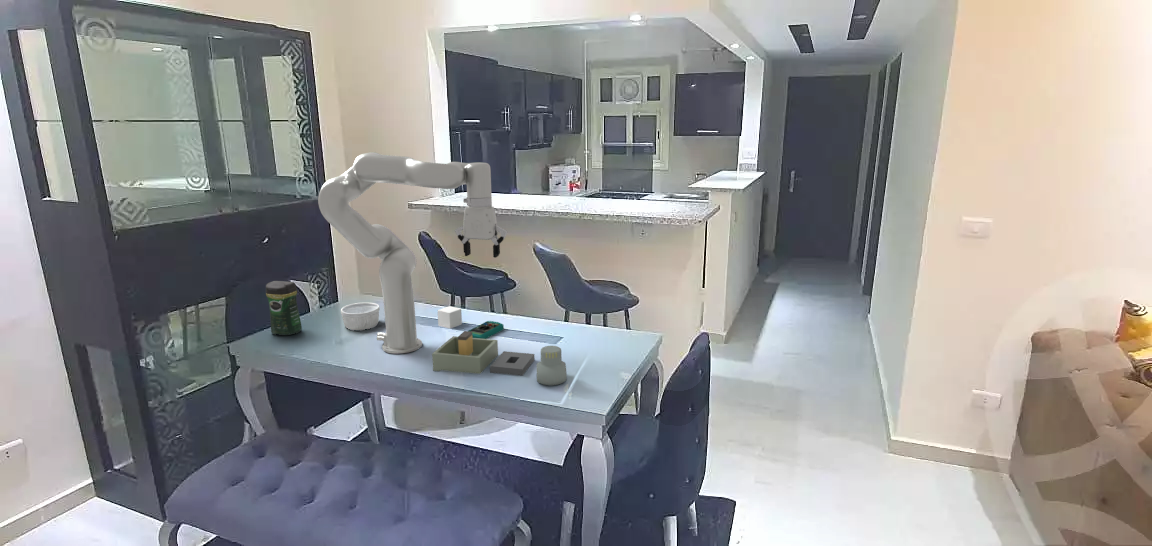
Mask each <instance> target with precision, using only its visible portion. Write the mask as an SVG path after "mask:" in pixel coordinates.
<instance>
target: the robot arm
mask: <svg viewBox="0 0 1152 546" xmlns="http://www.w3.org/2000/svg"><path fill="white" fill-rule="evenodd" d="M491 172H492V171H491V166H490V164H489V163H487V162H479V161H478V162H460V161H450V162H448V163H442V162H441V163H438V162H427V161H421V160H418V159H415V158H413V157H410V156H401V155H390V154H389V155H387V154H382V153H381V154H380V153H378V152H376V151H375V152H373V151H372V152H370V151H369V152H366V153H361V154H359V155H358V156H357V157H356V158H355V160H354V162H353V164H352V166H351V167H350V168H348V169H347V170H346V171H345V172H344V173H342V174H340V175H338V176H335V177H332V178H330V179H328V180H327V181H325V182H324V183H323V185H322V186H321V188H320V190H319V194H318V201H317V202H318V208H319V210H320V213H321V215H322V216H323V218H324V219H325V220H326V221H327V223H329V224H330V226H331V227H333V229H335V230H336V231H337V232H338V233H339V234H340V235H341V236H342V238H344V239H345V240H346V241H347V242H348V243H350V244H351V246H353V248H354V249H355V250H356V251H358V253H359V254H361V255H362V256H363V257H364V258H367V259H375V258H378V259H380V260H381V263H380V265H379V269H378V271H379V272H378V273H379V281H380V286H381V291H382V292H381V293H382V300H383V301H382V302H383V308H384V309H383V311H384V321H385V332H377V334H376V341H382V342H383V344H382V350H383V351H384V352H385V353H388V354H398V355H399V354H407V353H412V352H415V351H418V350H419V349H420V348H421V347H422V346H423V341H422V340H421V339H420V338H418V336H417V335H418V334H417V322H416V321H417V320H416V308H415V296H414V295H415V294H414V287H413V282H412V273H413V272H414V270H415V269H416V267H417V257H416V254H415V253H414V252H413V251H412V250H411V248H410V247H409V246H408V245H407V244H406V243H405V242H403V240H402V239H400V238H399V237H398V235H396V234H395V233H394V232H393V231H392V230H391V229H390V228H389V227H387V226H385V225H384V224H378V223H374V224H371V223H370V222H369V221H367V220H366V219H365V217H364V216H363V215H362V214H360V213H359V212H358V211H357V210H355V209H354V208H353V207H352V206H351V205H350V202H353V201H354V200H356V199H358V198H359V197H361V196H362V195H363V194H364V193H365V192H366V191H367V190H369V189H370V188H372V186H375V184H376V183H378V184H379V183H380V184H381V183H383V184H392V185H393V184H395V185H406V186H411V187H412V186H413V187H422V188H431V189H443V190H454V189H457V188H459V187H460V186H463V185H466V196H467V197H466V198H463V203H465V204H466V206H465V207H464V213H463V222H462V223H463V224H462V225H461V226H459V227H456V228H455V229H454V232H455V234H456V236H457V239H459V241H460V242H461V244H462V246H463V253H464V257H468V256H470V255H471V242H470V240H482V241H483V240H485V241H488V240H490V241H491V242H492V243H493V245H492V256H493V258H498V257H499V256H500V254H501V246H500V245H501V243H503V241H504V240H505V239H506V236H507V235H508V231H507V230H506V229H504V228H503V227H501V226H499V225H498V221H497V216H496V215H497V214H496V210H495V207H494V206H493V202H492V201H493V199H492V174H491ZM462 231H463V233H462ZM498 232H499V233H500V237H498Z"/></svg>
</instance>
